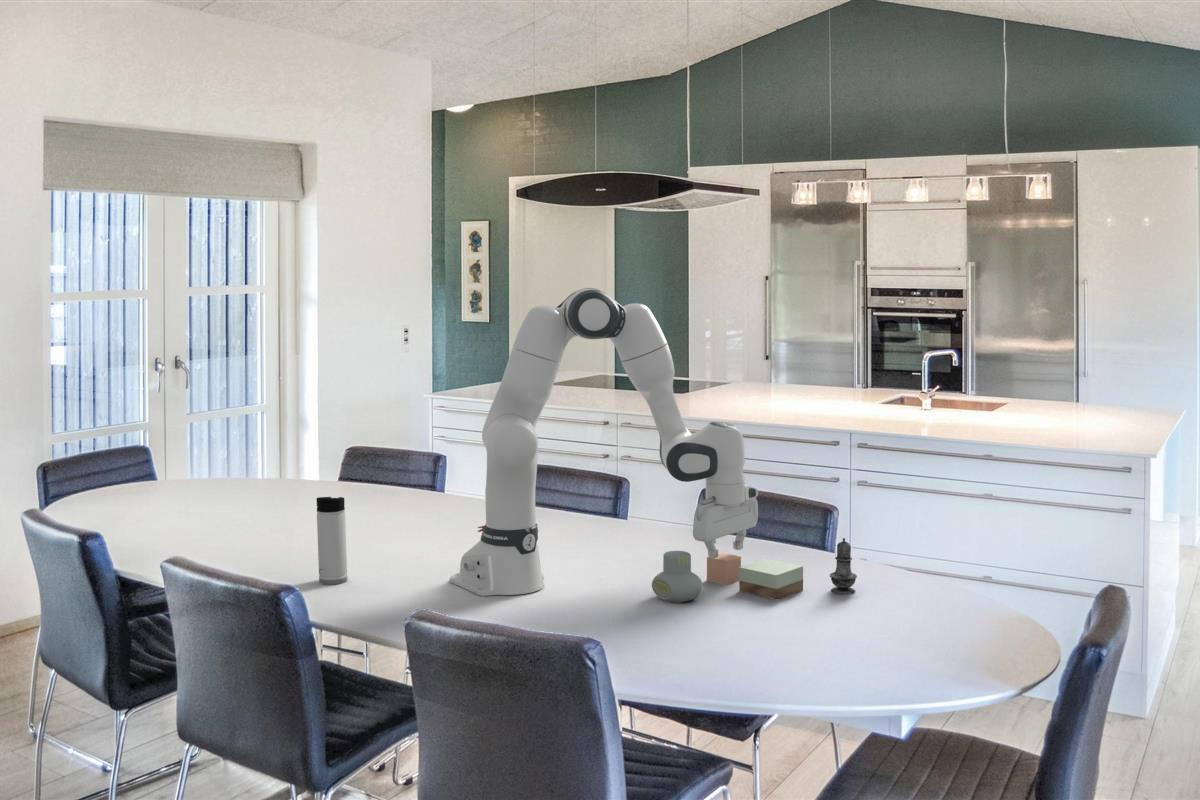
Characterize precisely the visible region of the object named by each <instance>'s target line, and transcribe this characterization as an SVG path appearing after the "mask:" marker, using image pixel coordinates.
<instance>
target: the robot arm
mask: <svg viewBox="0 0 1200 800" xmlns="http://www.w3.org/2000/svg"><path fill="white" fill-rule="evenodd" d="M576 337H579V338H581V339H585V340H601V339H609V340H610V341H611V342H612V344H613V345H614V348H615V349H616V351H617V354H618V357H619V360H620V362H621V364H622V367H623V369H624V371H625V373H626V375H627V377H628V378H629V381H630V382H631V383H632V385H633V387H634V388H635V390H637V391H638V393H639V394H640V395H641V396H642V397H643V399H644V400H645V401H646V403H647V406H648V407H649V410H650V413H651V415H652V418H653V420H654V423H655V425H656V429H657V430H658V434H659V440H660V441H659V458H660V461H661V463H662V465H663V467H664V468H665V469H667V471H668V473H669V475H671V477H673V479H676V480H677V481H679V482H684V483H688V482H694V481H695V482H696V481H700V480H705V498H704V499H703V498H702V499H701V500H700V501H699V503H698V504H697V506H695V507H696V508H695V510H694V515H693V523H692V536H693V538H694V540H695V541H697V542H703V543H704V545H705V547H706V549H707V557H709V558H716V557H718V554H719V549H717V548H716V546H715V544H716V542H717V540H716V539H720V538H724V537H725V536H729V535H732V534H736V536H735V538H734V539H735V540H733V541H732V545H733V547H732V548H733V550H735V551H740V550H743V548H744V541H745V539H746V538H745V537H746V536H747V530H748V529H751V528H755V527H756V525H757V522H758V518H759V517H758V516H759V514H758V513H759V506H758V505H759V503H758V500H757V497H758V495H759V489H758V487H755V486H750V485H747V484H746V480H745V479H746V478H745V474H744V465H745V459H746V457H745V441H744V435H743V432H742V430H741V429H740V428H739V427H738V426H736V425H735V424H732V423H729V422H728V423H727V422H723V421H711V422H709V423H708V424H707V425H705V426H704V427H703V428H701V429H700V430H697V431H696V432H694V433H693V432H692V431H690V430H689V428H688V427H687V425H686V423H685V422H684V417H682V413H681V410H680V407H679V406H678V403H677V401H676V398H675V394H674V393H675V392H674V387H673V386H674V380H675V379H674V378H675V373H676V371H675V364H674V360H673V356H672V352H671V350H670V347H669V343H668V341H667V339H666V336H665V334H664V332H663V330H662V328H661V326H660V323H659V322H658V321H657V319H656V317H655V316H654V313H653V312H652V310H651V309H650V308H649V307H648V306H647V305H645V304H643V303H637V302H636V303H629V304H626V305H621V304H620V303H619V302H617V300H615V299H614V298H613V297H611V296H610V295H609V294H607V293H606V292H604V291H602V290H600V289H598V288H595V287H585V288H581V289H578V290H575V291H574V292H572V293H571V294H570V295H568V297H566V298H565V300H564V301H562V302H561V303H560V304H559V305H557V307H554V306H551V305H537V306H534V307H532V308H531V309H529V311H528V312H527V314H526V315H525V318H524V319H523V322H522V323H521V325H520V328H519V330H518V332H517V334H516V336H515V339H514V342H513V344H512V348H511V351H510V355H509V357H508V360H507V364H506V367H505V369H504V373H503V376H502V380H501V382H500V383H499V384H500V385H499V387H498V388H497V391H496V394H495V397H494V398H493V401H492V403H491V405H490V409H489V411H488V414H487V416H486V419H485V422H484V425H483V428H482V433H481V439H482V443H483V446H484V448H485V450H486V476H485V481H486V482H485V490H484V491H485V492H484V493H485V496H484V497H485V525H480V526H478V527H477V529H478V530H477V533H480V532H481V536H480V540H479V541H478V542H477V543H475V544H474V545H473V546H472V547H470V549H468V550H467V551H466V552H465V553H463V555H462V557H461V559H460V565H459V566H460V568H459V572H458V573H455V574H453V575H451V576H450V577H449V583H452V584H453V585H456V586H458V587H461V588H463V589H465V590H466V591H467V590H468V591H470V592H471V593H473V594H476V595H478V596H482V597H483V596H485V597H486V596H497V595H498V596H500V595H501V596H513V595H515V596H517V595H524V594H530V593H534V592H537V591H540V590H541V589H543V587H544V586H545V584H544V579H545V577H544V573H542V569H541V559H540V552H539V546H538V543H537V542H538V539H539V529H538V528H539V527H538V523H536V483H537V472H538V458H539V457H538V456H539V455H538V454H539V452H538V451H539V438H538V434H537V431H536V430H535V428H536V426H537V423H538V421H539V418H540V416H541V414H542V411H543V409H544V407H545V405H546V403H547V402H548V399H549V398H550V396H551V393H552V389H553V387H554V383H555V380H556V377H557V375H558V371H559V368H560V365H561V361H562V358H563V356H564V351H565V349H566V347H567V345H568V343H569V342H570V341H571V340H572V339H573V338H576Z"/></svg>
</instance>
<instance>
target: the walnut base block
mask: <svg viewBox="0 0 1200 800" xmlns="http://www.w3.org/2000/svg"><path fill="white" fill-rule="evenodd" d="M738 582H739V588H738V589H739V592H741V593H745V594H749V595H754V596H759V597H762V598H763V597H764V598H768V599H771V600H776V601H778V600H781V599H784V598H786V597H789V596H792V595H794V594H797V593H800V592H802V591H804V579H803V580H800V581H797V582H795V583H792V584H789V585H786V586H783V587H781V588H778V589H774V588H770V587H765V586H761V585H757V584H752V583H748V582H743V581H738Z"/></svg>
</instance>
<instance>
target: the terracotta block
mask: <svg viewBox="0 0 1200 800" xmlns="http://www.w3.org/2000/svg"><path fill="white" fill-rule="evenodd" d="M741 566H742V556H740V555H734V554H732V553H731V554H730V553H725V552H718V557H716V558H709V557H708V556H706V581H708V582H712V583H717V584H721V585H725V586H727V585H730V584H733V583H735V582H739V567H741Z"/></svg>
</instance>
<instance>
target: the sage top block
mask: <svg viewBox="0 0 1200 800" xmlns="http://www.w3.org/2000/svg"><path fill="white" fill-rule="evenodd" d="M800 580H803V581H804V566H803V565H799V564H794V563H789V562H785V561H780V560H776V559H775V560H774V559H769V558H763V559H760V560H757V561H754V562H751V563H747V564H745V565H741V567H739V581H743V582H748V583H752V584H757V585H761V586H765V587H770V588H774V589H778V588H781V587H783V586H786V585H789V584H792V583H795V582H797V581H800ZM739 581H738V582H739Z"/></svg>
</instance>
